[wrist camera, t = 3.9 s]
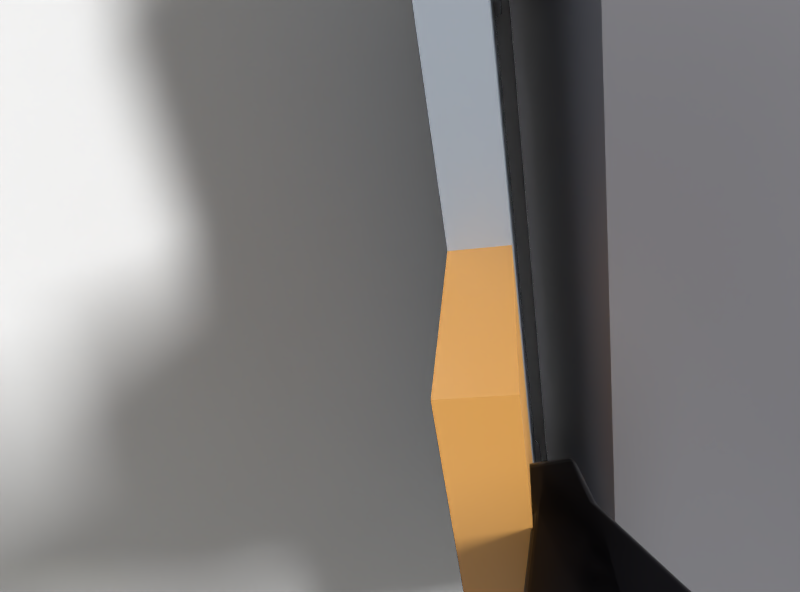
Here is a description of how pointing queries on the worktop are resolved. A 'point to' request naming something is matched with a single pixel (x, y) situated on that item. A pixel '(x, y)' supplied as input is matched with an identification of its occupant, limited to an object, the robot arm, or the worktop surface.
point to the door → (478, 299)
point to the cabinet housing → (670, 270)
